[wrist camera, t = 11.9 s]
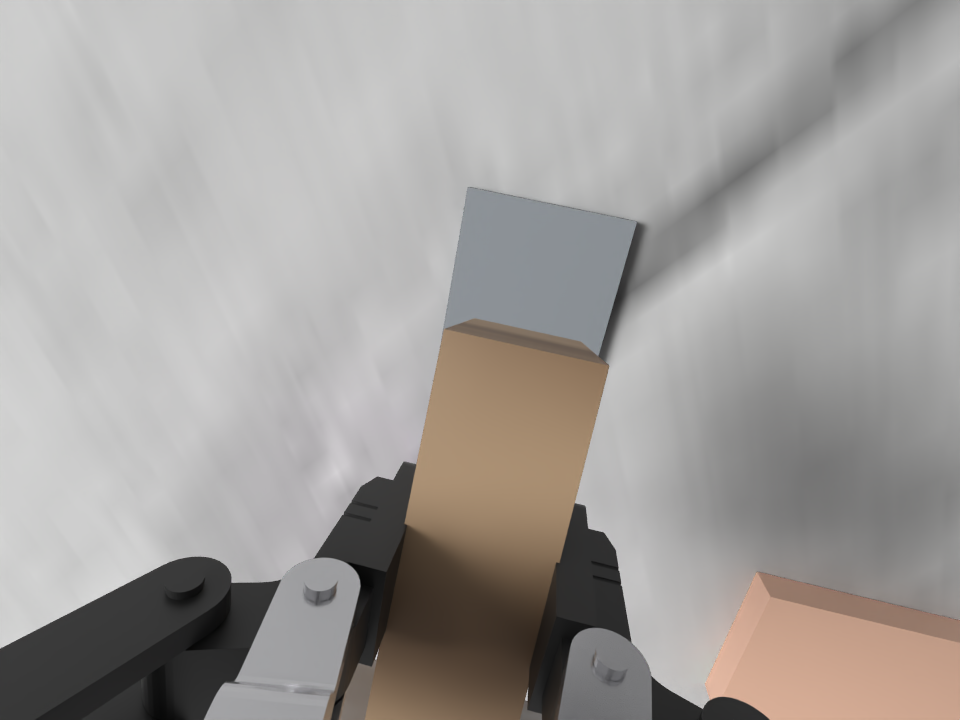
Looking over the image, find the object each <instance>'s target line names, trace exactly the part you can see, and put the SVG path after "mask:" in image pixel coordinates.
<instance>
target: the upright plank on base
mask: <svg viewBox="0 0 960 720" xmlns="http://www.w3.org/2000/svg"><path fill="white" fill-rule="evenodd" d="M608 369H609V365H608V364H607V363H606V362H604V361H603V360H602V359H601V358H600V357H598V356H597V355H596V354H595V353H594V352H593V351H591V350H590V349H589V348H588V347H587V346H586V345H584V344H583V343H582V342H581V341H576V340H572V339H567V338H563V337H558V336H553V335H549V334H544V333H540V332H535V331H531V330H526V329H522V328H517V327H512V326H508V325H503V324H499V323H494V322H490V321H485V320H481V319H476V318H474V319H471V320H468V321H465V322H462V323H459V324H457V325H454V326H451V327H448V328H445V329H444V331H443V336H442V341H441V346H440V351H439V356H438V361H437V366H436V371H435V376H434V381H433V385H432V390H431V395H430V400H429V405H428V410H427V415H426V420H425V425H424V430H423V435H422V440H421V445H420V450H419V454H418V459H417V464H416V469H415V474H414V479H413V484H412V489H411V494H410V499H409V504H408V509H407V514H406V519H405V523H404V524H406V525H407V529H406V534H405V539H404V544H403V549H402V554H401V558H400V563H399V568H398V573H397V578H396V583H395V588H394V593H393V598H392V603H391V608H390V612H389V617H388V622H387V627H386V631H385V634H384V636H383V639H382V642H381V644H380V647H379V652H378V657H377V660H374V662H373V665H372V667H371V666H367V665H363V664H360V663H358V665H357V668H356V670H355V673H354V675H353V677H352V680H351V682H350V684H349V686H348V688H347V690H346V696H345V702H344V706H343V710H342V715H341V719H340V720H542V714H540V713H536V712H533V711H529V710H527V705H528V701H525V697H526V693H527V689H528V685H529V668H530V664H531V660H532V656H533V652H534V648H535V644H536V640H537V636H538V632H539V628H540V624H541V620H542V616H543V612H544V608H545V605H546V601H547V597H548V593H549V589H550V585H551V581H552V577H553V573H554V569H555V565H556V562H557V563H560V559H561V555H562V551H563V547H564V543H565V539H566V535H567V531H568V527H569V523H570V519H571V515H572V511H573V507H574V504H575V500H576V496H577V492H578V488H579V484H580V480H581V476H582V472H583V468H584V464H585V460H586V456H587V452H588V448H589V444H590V440H591V436H592V432H593V428H594V424H595V420H596V417H597V413H598V409H599V405H600V401H601V397H602V393H603V389H604V385H605V381H606V377H607V373H608Z"/></svg>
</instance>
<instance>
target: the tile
mask: <svg viewBox="0 0 960 720" xmlns="http://www.w3.org/2000/svg"><path fill="white" fill-rule="evenodd" d="M705 686H706V689H707V692H708V695H709V698H710V700H711V699H713V698H716V697H730V698H734V699H738V700H740V701H743V702H745V703H747V704H749V705H751V706H752V707H754V708H756V709H757V710H759V711H760V712H761V713H763V714H764V715H765V716H766V717H768V718H769V719H770V720H960V620H956V619H952V618H947V617H943V616H939V615H935V614H931V613H927V612H922V611H918V610H914V609H910V608H906V607H902V606H898V605H893V604H889V603H885V602H881V601H877V600H873V599H869V598H864V597H860V596H856V595H852V594H848V593H844V592H839V591H835V590H831V589H827V588H823V587H819V586H815V585H810V584H806V583H802V582H798V581H794V580H790V579H785V578H781V577H777V576H773V575H769V574H765V573H761V572H756V574H755V577H754V579H753V581H752V583H751V585H750V587H749V590H748V592H747V594H746V596H745V598H744V600H743V603H742V605H741V607H740V609H739V611H738V613H737V616H736V618H735V620H734V622H733V624H732V626H731V629H730V631H729V633H728V635H727V637H726V639H725V642H724V644H723V646H722V648H721V650H720V652H719V655H718V657H717V659H716V661H715V663H714V665H713V668H712V670H711V672H710V674H709V676H708V678H707V681H706V683H705Z"/></svg>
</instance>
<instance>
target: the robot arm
mask: <svg viewBox="0 0 960 720" xmlns="http://www.w3.org/2000/svg"><path fill="white" fill-rule="evenodd" d="M415 469H416V464H412V463H408V462H403V464H402V465H401V467H400V469H399V471H398V473H397V474H396V476H395V478H394V480H389V479H385V478H381V477H376V478H374V479H373V480H371V481H369V482H368V483H366V484H365V485H363V486H361V488H360V489H359V491H358V492H357V494H356V495H355V497H354V498H353V500H352V503H350V504H349V506H348V507H347V509H346V510H345V512H344V515H342V517H341V518H340V520H339V521H338V523H337V524H336V526H335V527H334V529H333V530H332V532H331V533H330V535H329V536H328V538H327V539H326V541H325V542H324V544H323V545H322V547H321V549H320V550H319V552H318V553H317V555H316V556H315V558H314V559H310V560H306V561H303V562H301V563H299V564H297V565H296V566H294V567H292V568H291V569H290V570H289V571H288V572H287V573H286V574H285V575H284V576H283V578H282V580H279V581H273V582H262V583H231V573H230V571H229V569H228V568H227V567H226V566H225V565H224V564H223V563H221V562H220V561H218V560H215V559H212V558H208V557H188V558H183V559H178V560H175V561H172V562H169V563H167V564H165V565H163V566H161V567H159V568H157V569H155V570H153V571H151V572H149V573H147V574H145V575H143V576H141V577H139V578H137V579H135V580H133V581H131V582H129V583H127V584H126V585H124V586H122V587H120V588H118V589H116V590H114V591H112V592H110V593H108V594H106V595H104V596H102V597H100V598H98V599H96V600H94V601H92V602H90V603H88V604H87V605H85V606H83V607H81V608H79V609H77V610H75V611H73V612H71V613H69V614H67V615H65V616H63V617H61V618H59V619H57V620H55V621H53V622H51V623H49V624H48V625H46V626H44V627H42V628H40V629H38V630H36V631H34V632H32V633H30V634H28V635H26V636H24V637H22V638H20V639H18V640H16V641H14V642H12V643H11V644H9V645H7V646H5V647H3V648H1V649H0V720H340V719H341V715H342V710H343V706H344V702H345V696H346V690H347V688H348V686H349V684H350V682H351V680H352V677H353V675H354V673H355V670H356V668H357V665H358V663H360V664H363V665H367V666H371V667H372V665H373V662H374V660H375V657H376V655H377V652H378V649H379V647H380V644H381V642H382V639H383V636H384V634H385V631H386V627H387V622H388V617H389V612H390V608H391V603H392V598H393V593H394V588H395V583H396V578H397V573H398V568H399V563H400V558H401V554H402V549H403V544H404V539H405V534H406V529H407V525H406V524H404V523H405V519H406V514H407V509H408V504H409V499H410V494H411V489H412V484H413V479H414V474H415ZM618 568H619V567H618V561H617V556H616V550H615V548H614V547H613V545H612V544H611V542H610V541H609V539H608V538H607V536H606V535H605V533H603V532H599V531H595V530H591V529H588V524H587V514H586V507H585V506H584V505H580V504H576V503H575V504H574V507H573V511H572V515H571V519H570V523H569V527H568V531H567V535H566V539H565V543H564V547H563V551H562V555H561V559H560V563H557V562H556V565H555V569H554V573H553V577H552V581H551V585H550V589H549V593H548V597H547V601H546V605H545V608H544V612H543V616H542V620H541V624H540V628H539V632H538V636H537V640H536V644H535V648H534V652H533V656H532V660H531V664H530V668H529V685H528V705H527V710H529V711H533V712H536V713H540V714H542V720H770V719H769V718H768V717H766V716H765V715H764V714H763V713H761V712H760V711H759V710H757V709H756V708H754V707H752V706H751V705H749V704H747V703H745V702H743V701H740V700H738V699H734V698H730V697H716V698H713V699H711V700H710V701H708V702H707V703H706V705H705V706H704V708H703V709H702V708H700V707H698V706H696V705H694V704H693V703H691V702H689V701H687V700H685V699H684V698H682V697H680V696H678V695H677V694H675V693H673V692H671V691H670V690H668V689H667V688H665V687H664V686H662V685H661V684H660V683H658V682H657V681H656V680H655V679H654V678H653V677H652V676H651V672H650V669H649V666H648V664H647V662H646V660H645V658H644V657H643V655H642V654H641V652H640V651H639V650H638V649H637V648H636V647H635V646H634V645H633V644H632V642H631V637H630V631H629V625H628V619H627V614H626V608H625V602H624V596H623V590H622V586H621V579H620V573H619V571H618Z"/></svg>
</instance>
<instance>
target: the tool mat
mask: <svg viewBox="0 0 960 720" xmlns="http://www.w3.org/2000/svg"><path fill="white" fill-rule="evenodd" d="M636 224H637V222H636V221H632V220H627V219H623V218H618V217H613V216H608V215H603V214H598V213H593V212H588V211H583V210H579V209H574V208H569V207H564V206H559V205H554V204H549V203H544V202H539V201H535V200H530V199H525V198H520V197H515V196H510V195H505V194H500V193H495V192H491V191H486V190H481V189H476V188H471V187H468V189H467V195H466V201H465V206H464V212H463V218H462V224H461V229H460V235H459V241H458V247H457V253H456V258H455V264H454V270H453V276H452V282H451V287H450V293H449V299H448V305H447V311H446V316H445V322H444V328H443V331H444V329H445V328H448V327H451V326H454V325H457V324H459V323H462V322H465V321H468V320H471V319H474V318H476V319H481V320H485V321H490V322H494V323H499V324H503V325H508V326H512V327H517V328H522V329H526V330H531V331H535V332H540V333H544V334H549V335H553V336H558V337H563V338H567V339H572V340H576V341H581V342H582V343H583V344H584V345H586V346H587V347H588V348H589V349H590V350H591V351H593V352H594V353H595V354H596V355H597V356H599V352H600V349H601V345H602V342H603V338H604V335H605V332H606V328H607V325H608V321H609V318H610V314H611V311H612V307H613V304H614V300H615V297H616V293H617V290H618V286H619V283H620V279H621V276H622V272H623V269H624V265H625V262H626V259H627V255H628V252H629V248H630V245H631V241H632V238H633V234H634V231H635V227H636ZM442 336H443V334H442ZM441 341H442V339H441ZM440 346H441V345H440Z"/></svg>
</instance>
